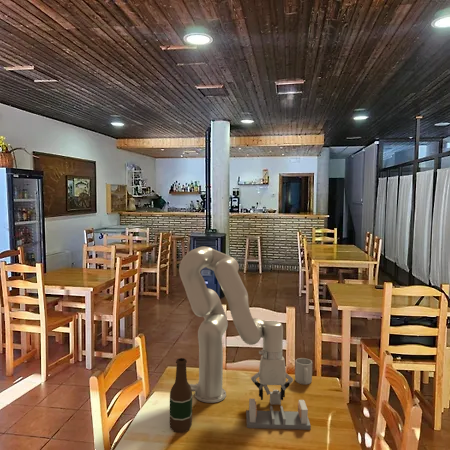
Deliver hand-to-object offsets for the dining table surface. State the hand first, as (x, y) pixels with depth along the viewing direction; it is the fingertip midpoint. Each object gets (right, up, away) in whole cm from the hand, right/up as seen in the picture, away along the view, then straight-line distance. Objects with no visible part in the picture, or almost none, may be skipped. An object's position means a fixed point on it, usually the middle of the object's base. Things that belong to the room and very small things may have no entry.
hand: (271, 398), depth 158 cm
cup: (+16, -1, +19) cm, 25 cm away
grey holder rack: (+1, -3, -13) cm, 13 cm away
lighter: (0, -2, 0) cm, 2 cm away
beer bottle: (-34, -3, -17) cm, 38 cm away
